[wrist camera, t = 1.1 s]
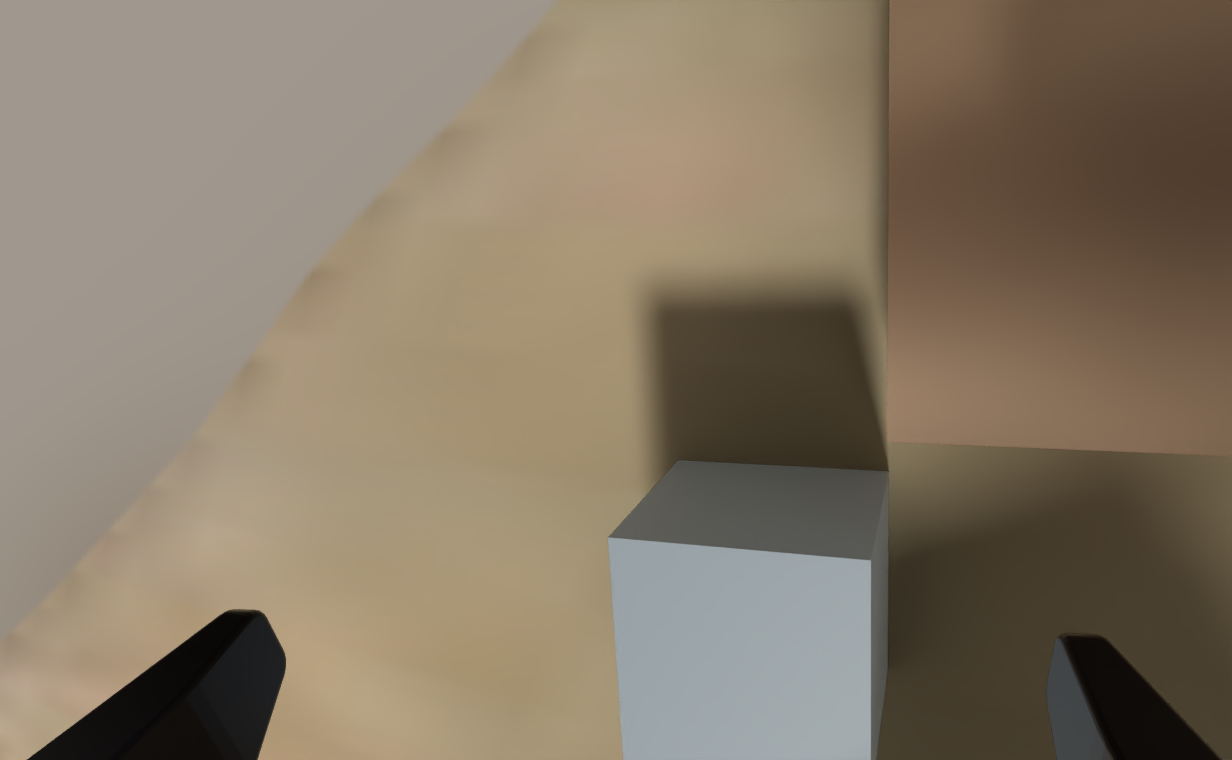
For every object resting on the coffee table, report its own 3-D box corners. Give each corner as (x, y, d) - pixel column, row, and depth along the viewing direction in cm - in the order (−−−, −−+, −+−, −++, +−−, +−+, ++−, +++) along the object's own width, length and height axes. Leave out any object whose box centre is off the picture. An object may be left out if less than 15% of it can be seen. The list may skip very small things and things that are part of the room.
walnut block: (1393, 401, 17) (1515, 468, 13) (898, 390, 20) (886, 442, 16) (1462, -117, 15) (1630, -206, 11) (902, -38, 18) (889, -88, 14)
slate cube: (887, 667, 21) (870, 805, 17) (688, 641, 23) (623, 760, 19) (889, 470, 20) (870, 560, 16) (679, 459, 22) (607, 537, 17)
